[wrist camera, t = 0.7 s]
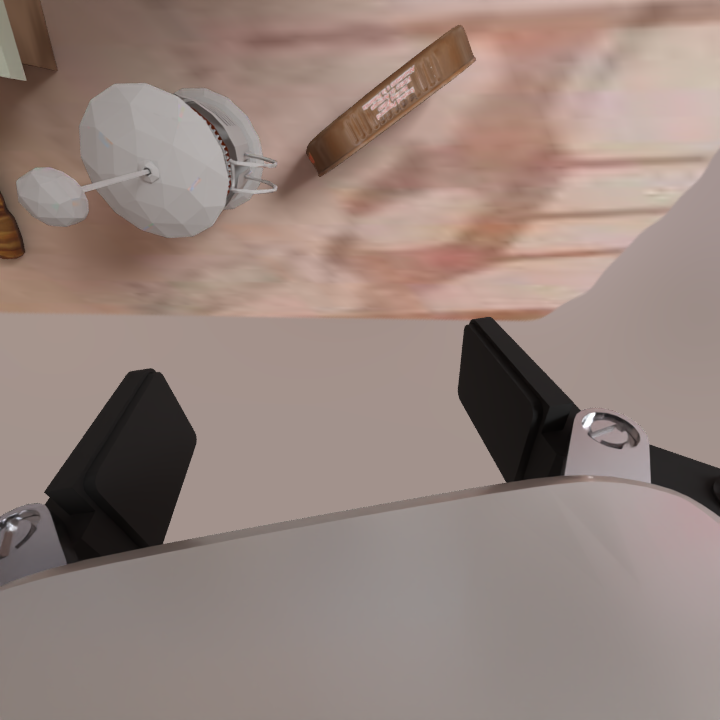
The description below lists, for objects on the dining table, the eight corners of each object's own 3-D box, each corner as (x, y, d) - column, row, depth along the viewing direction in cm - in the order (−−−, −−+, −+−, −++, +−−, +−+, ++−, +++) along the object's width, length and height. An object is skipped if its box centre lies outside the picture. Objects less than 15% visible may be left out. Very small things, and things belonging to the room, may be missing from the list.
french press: (140, 74, 28) (-304, -70, 7) (284, 104, 30) (246, 54, 10) (160, 203, 33) (-67, 323, 13) (281, 219, 35) (252, 342, 15)
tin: (319, 175, 34) (323, 187, 27) (300, 143, 32) (299, 147, 25) (454, 73, 31) (497, 57, 24) (440, 32, 29) (483, 3, 22)
